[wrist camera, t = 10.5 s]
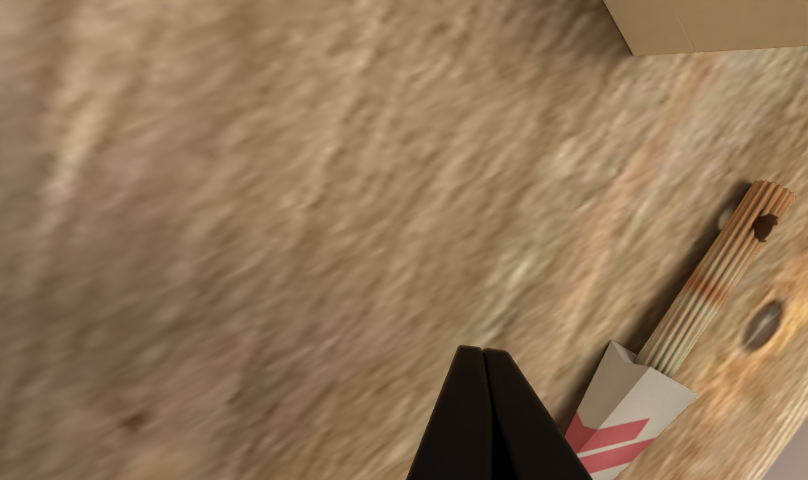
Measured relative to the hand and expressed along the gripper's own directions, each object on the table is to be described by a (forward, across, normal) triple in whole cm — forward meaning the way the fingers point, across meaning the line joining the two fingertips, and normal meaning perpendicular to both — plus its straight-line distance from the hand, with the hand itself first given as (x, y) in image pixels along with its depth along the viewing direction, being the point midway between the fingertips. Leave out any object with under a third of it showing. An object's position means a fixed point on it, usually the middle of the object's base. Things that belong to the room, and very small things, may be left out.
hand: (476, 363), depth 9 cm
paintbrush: (+13, -11, +12) cm, 21 cm away
